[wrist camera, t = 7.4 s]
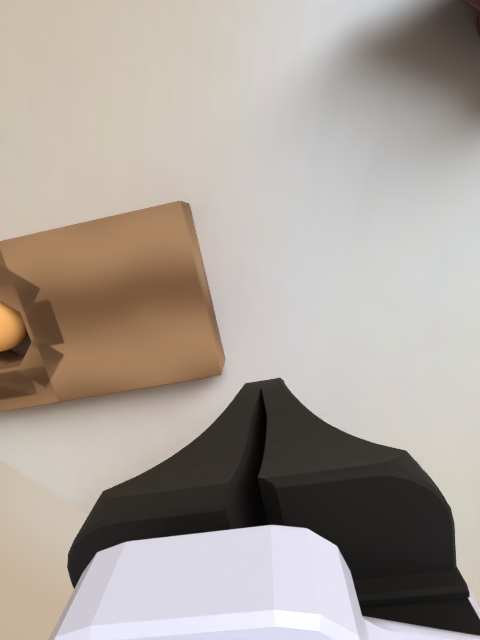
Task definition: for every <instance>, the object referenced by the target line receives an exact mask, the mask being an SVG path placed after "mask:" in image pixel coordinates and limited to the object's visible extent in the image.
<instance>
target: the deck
mask: <svg viewBox="0 0 480 640" xmlns="http://www.w3.org/2000/svg"><path fill="white" fill-rule="evenodd" d="M0 301H2V302H3V303H5V304H7V305H8V306H10V307H12V308H13V309H15V310H17V311H18V312H20V313H21V316H22V319H23V321H24V324H25V326H26V329H27V332H28V334H29V337H30V339H31V342H32V343H31V345H30V347H29V349H28V351H27V353H26V355H22V356H19V355H17V354H16V353H14V352H12V351H11V350H9V349H8V350H5V351H0V411H6V410H12V409H19V408H25V407H31V406H37V405H43V404H49V403H55V402H61V401H67V400H73V399H79V398H85V397H91V396H97V395H103V394H109V393H115V392H121V391H127V390H133V389H139V388H145V387H151V386H157V385H163V384H169V383H175V382H182V381H188V380H194V379H200V378H206V377H212V376H218V375H221V373H222V369H223V365H224V361H225V356H224V352H223V347H222V343H221V339H220V334H219V330H218V326H217V321H216V317H215V313H214V308H213V304H212V300H211V295H210V291H209V287H208V282H207V278H206V274H205V269H204V265H203V261H202V256H201V252H200V248H199V243H198V239H197V235H196V230H195V226H194V222H193V218H192V213H191V209H190V205H189V203H185V202H182V201H177V202H172V203H168V204H163V205H159V206H155V207H150V208H146V209H141V210H137V211H132V212H128V213H123V214H119V215H115V216H110V217H106V218H101V219H97V220H92V221H88V222H83V223H79V224H75V225H70V226H66V227H61V228H57V229H52V230H48V231H44V232H39V233H35V234H30V235H26V236H21V237H17V238H12V239H8V240H4V241H0Z"/></svg>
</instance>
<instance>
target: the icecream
mask: <svg viewBox="0 0 480 640" xmlns="http://www.w3.org/2000/svg"><path fill="white" fill-rule="evenodd" d="M463 1H464V2H466V3H468V4H469V5H471V6H472V7H474V8H475V9H477V10H479V13H478V19H477V30H478V33H479V35H480V0H463Z"/></svg>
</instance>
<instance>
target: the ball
mask: <svg viewBox="0 0 480 640" xmlns="http://www.w3.org/2000/svg"><path fill="white" fill-rule="evenodd" d="M26 334H27V329H26V326H25V324H24V321H23V319H22V316H21V313H20V312H18V311H17V310H15V309H13V308H12V307H10V306H8V305H7V304H5V303H3V302H2V301H0V351H5V350H8V349H11V348H13V347H15V346H16V345H18V344H19V343H20V342H21V341H22V340H23V339H24V338H25V336H26Z"/></svg>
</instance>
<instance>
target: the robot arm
mask: <svg viewBox="0 0 480 640" xmlns="http://www.w3.org/2000/svg"><path fill="white" fill-rule="evenodd" d="M67 568H68V572H69V575H70V579H71V582H72V585H73V587H74V591H73V593H72V595H71V597H70V599H69V601H68V603H67V605H66V607H65V609H64V611H63V613H62V614H61V616H60V618H59V621H58V623H57V624H56V626H55V629H54V631H53V632H52V634H51V636H50V638H49V640H480V606H479V605H478V603H477V601H476V599H475V598H474V596H473V594H472V592H471V591H470V589H469V587H468V585H467V584H466V582H465V580H464V579H463V577H462V575H461V573H460V572H459V570H458V568H457V566H456V549H455V529H454V520H453V516H452V512H451V508H450V506H449V505H448V503H447V501H446V500H445V498H444V496H443V495H442V493H441V491H440V490H439V488H438V487H437V486H436V484H435V483H434V482H433V480H432V479H431V478H430V477H429V476H428V474H427V473H426V472H425V470H424V468H423V467H422V466H421V465H419V464H418V463H417V462H416V461H415V460H414V459H413V458H412V457H411V455H410V454H409V453H408V452H407V451H405V450H401V449H396V448H392V447H388V446H384V445H379V444H375V443H372V442H369V441H366V440H363V439H360V438H357V437H355V436H352V435H350V434H347V433H345V432H343V431H341V430H339V429H337V428H335V427H333V426H331V425H329V424H328V423H326V422H324V421H323V420H321V419H320V418H318V417H317V416H316V415H314V414H313V413H312V412H311V411H310V410H308V409H307V408H306V407H305V406H304V405H303V404H302V403H301V402H300V401H299V400H298V399H297V398H296V397H295V396H294V395H293V394H292V393H291V391H290V390H289V389H288V388H287V386H286V385H285V383H284V381H283V380H282V379H281V378H276V379H270V380H264V381H258V382H251V383H245V385H244V386H243V387H242V389H241V390H240V391H239V393H238V394H237V395H236V397H235V398H234V399H233V401H232V402H231V403H230V404H229V406H228V407H227V408H226V409H225V411H224V412H223V413H222V414H221V415H220V416H219V417H218V418H217V419H216V420H215V422H214V423H213V424H212V425H211V426H210V427H209V428H208V429H207V430H205V431H204V432H203V433H202V434H201V435H200V436H199V437H197V438H196V439H195V440H194V441H193V442H191V443H190V444H189V445H187V446H186V447H184V448H183V449H182V450H180V451H179V452H177V453H176V454H175V455H173V456H172V457H170V458H169V459H167V460H165V461H164V462H162V463H160V464H159V465H157V466H155V467H153V468H152V469H150V470H148V471H146V472H144V473H142V474H140V475H138V476H136V477H134V478H132V479H130V480H128V481H125V482H123V483H121V484H119V485H116V486H114V487H112V488H110V489H107V490H105V491H103V492H102V494H101V496H100V497H99V499H98V500H97V502H96V504H95V506H94V507H93V509H92V511H91V512H90V514H89V516H88V517H87V519H86V521H85V523H84V524H83V526H82V528H81V529H80V531H79V533H78V534H77V536H76V538H75V540H74V542H73V544H72V546H71V548H70V551H69V553H68V565H67Z"/></svg>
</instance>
